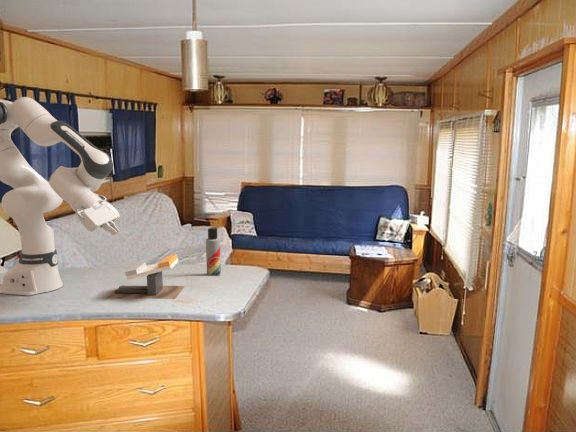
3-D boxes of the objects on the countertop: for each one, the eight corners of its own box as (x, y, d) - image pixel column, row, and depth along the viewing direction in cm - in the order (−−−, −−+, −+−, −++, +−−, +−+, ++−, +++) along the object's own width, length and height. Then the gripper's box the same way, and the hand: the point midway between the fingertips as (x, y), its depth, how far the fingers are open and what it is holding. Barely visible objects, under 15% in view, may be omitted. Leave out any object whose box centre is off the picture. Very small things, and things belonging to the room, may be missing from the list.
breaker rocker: (127, 279, 170) (124, 272, 169) (137, 271, 179) (135, 264, 179) (170, 268, 168) (168, 261, 168) (178, 261, 178) (176, 254, 178)
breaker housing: (147, 295, 171) (146, 276, 170) (154, 288, 179) (153, 269, 178) (156, 295, 171) (155, 276, 170) (162, 288, 179) (162, 269, 178)
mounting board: (106, 302, 169) (106, 298, 169) (121, 289, 183) (121, 285, 183) (175, 302, 168) (175, 298, 168) (185, 289, 182) (185, 285, 182)
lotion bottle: (218, 277, 197) (216, 228, 194) (204, 276, 198) (203, 228, 195) (222, 273, 202) (221, 226, 199) (209, 272, 204) (208, 225, 200)
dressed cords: (114, 293, 173) (114, 290, 173) (120, 289, 178) (120, 285, 178) (148, 294, 173) (148, 290, 172) (153, 289, 178) (153, 285, 178)
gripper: (79, 203, 160) (110, 233, 161) (105, 195, 180) (133, 221, 181) (67, 216, 161) (97, 246, 162) (94, 207, 181) (122, 233, 182)
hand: (116, 233), depth 172 cm, fingers closed
